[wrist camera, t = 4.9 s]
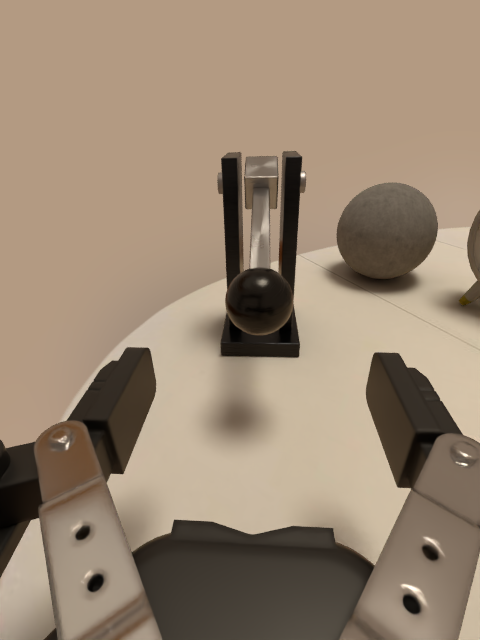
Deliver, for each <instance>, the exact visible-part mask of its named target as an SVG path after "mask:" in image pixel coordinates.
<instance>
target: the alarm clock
mask: <svg viewBox="0 0 480 640" xmlns="http://www.w3.org/2000/svg"><path fill="white" fill-rule="evenodd" d="M467 249H468V259H469V263H470V267H471V269H472V271H473V273H474V275H475V277H476V279H477V281H476V282H475V284H474V285H473V286H472V287H471V288H470V289H469V290H468V291H467V292H466V293H465V294H464V295H463V296H462V298H461V299H460V300H459V302H460V304H462V305H467V304H469V303H471V302H473V301H474V300H476V299H478V298H480V211H479V212H478V214H477V215H476V217H475V219H474V222H473V224H472V226H471V229H470V232H469V237H468V242H467Z"/></svg>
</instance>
